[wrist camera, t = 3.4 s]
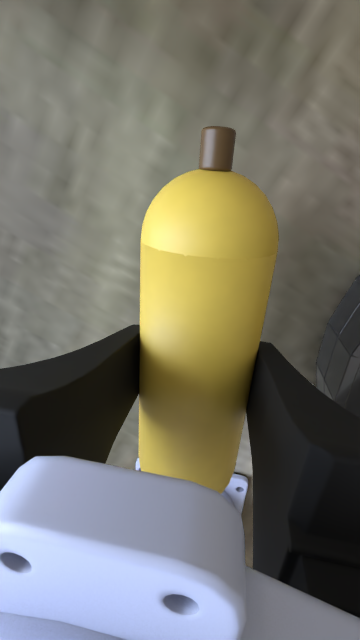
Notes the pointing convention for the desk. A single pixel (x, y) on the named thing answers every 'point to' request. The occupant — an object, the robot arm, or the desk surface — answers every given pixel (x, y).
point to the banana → (202, 314)
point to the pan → (342, 353)
